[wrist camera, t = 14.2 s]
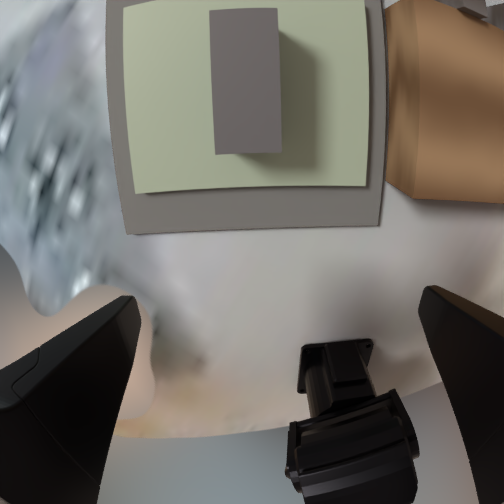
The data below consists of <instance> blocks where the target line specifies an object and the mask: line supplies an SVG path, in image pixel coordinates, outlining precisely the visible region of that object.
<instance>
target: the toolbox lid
mask: <svg viewBox="0 0 504 504" xmlns="http://www.w3.org/2000/svg"><path fill="white" fill-rule="evenodd" d="M123 64H124V88H125V104H126V117H127V129H128V139H129V148H130V157H131V165H132V173H133V181H134V188H135V194H140V193H151V192H163V191H177V190H192V189H209V188H229V187H255V186H365V185H366V171H367V154H368V130H369V66H368V43H367V27H366V14H365V4H364V0H155V1H150V2H145V3H141V4H136V5H132V6H128V7H124V8H123Z"/></svg>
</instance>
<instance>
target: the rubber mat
mask: <svg viewBox="0 0 504 504" xmlns="http://www.w3.org/2000/svg"><path fill="white" fill-rule="evenodd" d="M150 1H155V0H107V1H106V78H107V96H108V109H109V121H110V131H111V140H112V149H113V157H114V164H115V171H116V178H117V184H118V191H119V197H120V202H121V208H122V214H123V219H124V224H125V229H126V234H127V235H129V234H146V233H164V232H184V231H205V230H228V229H254V228H284V227H320V226H371V225H378V219H379V210H380V201H381V191H382V179H383V166H384V150H385V126H386V70H385V47H384V32H383V20H382V10H381V1H380V0H364V4H365V14H366V27H367V43H368V66H369V130H368V154H367V171H366V185H365V186H255V187H229V188H209V189H192V190H177V191H163V192H151V193H140V194H135V188H134V181H133V173H132V165H131V157H130V148H129V139H128V129H127V117H126V104H125V88H124V64H123V8H124V7H128V6H132V5H136V4H141V3H145V2H150Z"/></svg>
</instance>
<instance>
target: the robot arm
mask: <svg viewBox="0 0 504 504" xmlns="http://www.w3.org/2000/svg"><path fill="white" fill-rule="evenodd" d="M418 314H419V317H420V320H421V323H422V326H423V329H424V332H425V335H426V338H427V342H428V345H429V348H430V351H431V354H432V356H433V359H434V361H435V363H436V366H437V368H438V371H439V373H440V376H441V378H442V381H443V383H444V386H445V388H446V391H447V394H448V397H449V399H450V402H451V405H452V408H453V411H454V414H455V416H456V419H457V422H458V425H459V429H460V431H461V435H462V437H463V441H464V445H465V448H466V451H467V455H468V459H469V460H470V461H469V463H470V466H471V470H472V474H473V478H474V482H475V487H476V491H477V496H478V500H479V504H504V318H503V317H501V316H499V315H497V314H495V313H493V312H491V311H489V310H487V309H485V308H483V307H481V306H479V305H477V304H475V303H473V302H471V301H469V300H467V299H465V298H462V297H460V296H458V295H456V294H454V293H452V292H450V291H448V290H446V289H443V288H441V287H439V286H437V285H432V286H426V287H425V288H424V290H423V293H422V297H421V300H420V304H419V308H418ZM140 328H141V316H140V313H139V309H138V305H137V301H136V299H135V297H134V296H120V297H119V298H117V299H115V300H113V301H112V302H110V303H109V304H107V305H105V306H104V307H102V308H100V309H99V310H97V311H95V312H94V313H92V314H91V315H89V316H87V317H86V318H84V319H82V320H81V321H79V322H78V323H76V324H74V325H73V326H71V327H70V328H68V329H67V330H65V331H63V332H61V333H60V334H58V335H57V336H55V337H53V338H52V339H50V340H49V341H47V342H46V343H44V344H42V345H41V346H40V347H38V348H36V349H35V350H33V351H31V352H30V353H28V354H27V355H25V356H23V357H22V358H20V359H19V360H17V361H15V362H13V363H11V364H10V365H8V366H6V367H4V368H3V369H1V370H0V504H97V500H98V495H99V490H100V486H99V485H100V484H101V480H102V476H103V471H104V467H105V463H106V459H107V455H108V450H109V447H110V443H111V439H112V435H113V432H114V428H115V424H116V421H117V417H118V413H119V410H120V406H121V403H122V400H123V396H124V393H125V389H126V386H127V383H128V380H129V376H130V373H131V369H132V366H133V362H134V357H135V352H136V347H137V342H138V337H139V332H140ZM367 344H368V345H367ZM373 345H374V344H373V341H372V340H371V339H363V340H354V341H344V342H334V343H322V344H309V345H304V346H303V347H302V348H301V354H300V364H299V374H298V383H297V392H298V393H300V394H305V393H307V398H308V404H309V410H310V416H311V418H310V419H306V420H302V421H298V422H297V421H294V422H290V428H289V429H290V430H289V431H288V445H287V463H286V468H285V475H286V477H288V478H289V479H291V481H292V483H293V486H294V488H295V489H296V491H297V492H298V493H302V494H303V497H304V502H305V504H411V503H413V501H414V499H415V496H416V492H417V488H418V487H417V484H418V480H417V476H416V472H415V467H414V462H413V459H415V458H418V457H419V454H420V453H419V445H418V440H417V437H416V433H415V430H414V427H413V424H412V422H411V420H410V418H409V415H408V413H407V411H406V410H405V408H404V405H403V403H402V401H401V399H400V397H399V395H398V394H397V392H396V390H395V389H392V390H390V391H389V392H387V393H385V394H382V395H380V396H377V395H376V392H375V389H374V386H373V384H372V381H371V378H370V375H369V373H368V370H367V365H368V362H369V359H370V356H371V352H372V349H373ZM306 350H308V351H306Z"/></svg>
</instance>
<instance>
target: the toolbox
mask: <svg viewBox="0 0 504 504" xmlns="http://www.w3.org/2000/svg"><path fill="white" fill-rule="evenodd" d="M384 10H385V20H386V31H387V46H388V67H389V128H388V150H387V166H386V179H385V181H387V182H389V183H390V184H392V185H393V186H395V187H396V188H398V189H399V190H401V191H402V192H404V193H405V194H407V195H408V196H410V197H411V198H413V199H435V200H456V201H473V202H487V203H501V204H504V3H503V4H498V5H493V6H489V7H486V2H485V0H400V1H398V2H396V3H394V4H393V5H391V6H389V7H388V8H386V9H384Z"/></svg>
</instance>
